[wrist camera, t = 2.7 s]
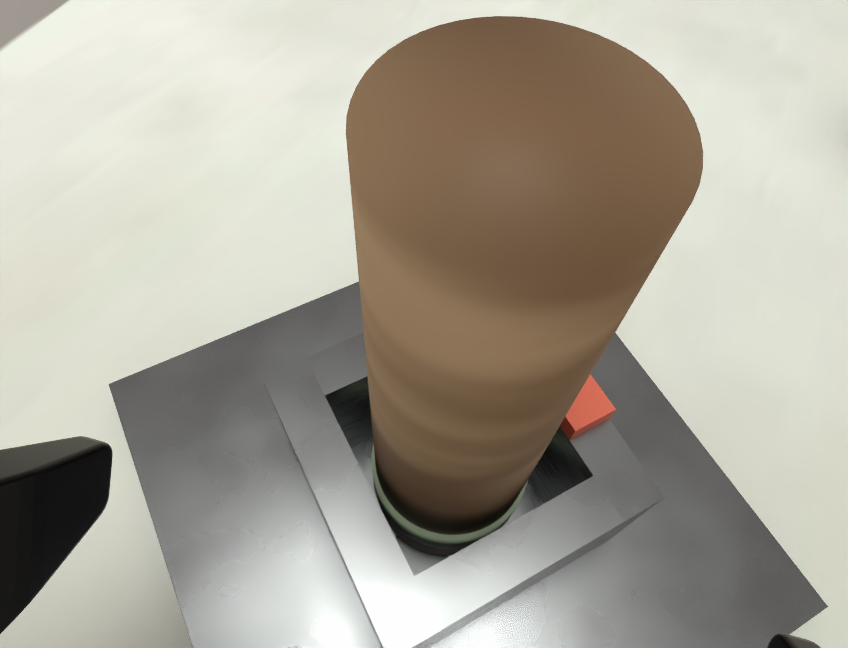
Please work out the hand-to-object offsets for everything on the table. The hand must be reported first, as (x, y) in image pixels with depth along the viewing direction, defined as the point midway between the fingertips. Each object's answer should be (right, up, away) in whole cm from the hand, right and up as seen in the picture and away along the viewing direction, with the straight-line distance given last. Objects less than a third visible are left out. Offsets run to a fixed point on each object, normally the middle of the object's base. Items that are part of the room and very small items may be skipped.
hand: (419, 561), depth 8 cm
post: (+1, -2, +11) cm, 11 cm away
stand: (+1, -2, +12) cm, 12 cm away
